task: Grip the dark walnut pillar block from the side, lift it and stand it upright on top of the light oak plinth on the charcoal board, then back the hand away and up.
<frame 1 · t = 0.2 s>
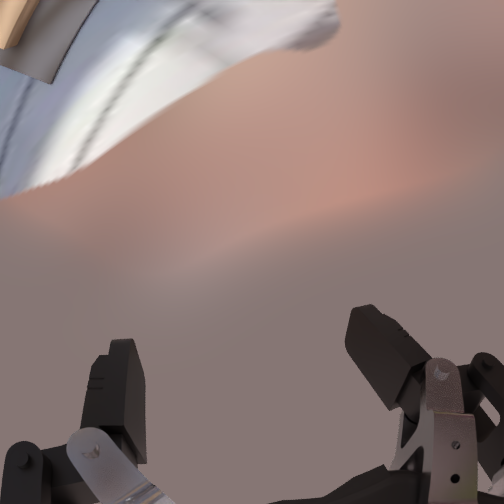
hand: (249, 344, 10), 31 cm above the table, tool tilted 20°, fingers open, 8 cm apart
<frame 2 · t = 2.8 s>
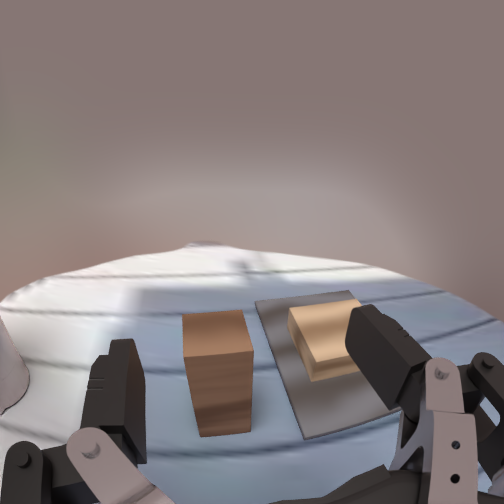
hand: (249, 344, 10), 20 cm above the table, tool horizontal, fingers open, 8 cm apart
plinth: (333, 349, 37), on the table
pillar: (222, 415, 28), on the table
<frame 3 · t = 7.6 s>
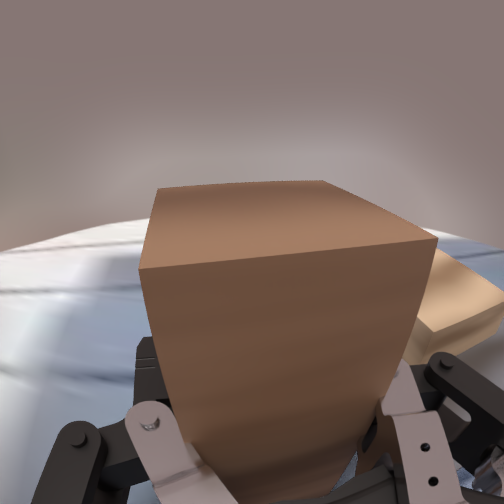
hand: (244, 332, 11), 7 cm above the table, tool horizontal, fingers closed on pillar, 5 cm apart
plinth: (421, 321, 21), on the table
pillar: (259, 466, 11), on the table, touching gripper
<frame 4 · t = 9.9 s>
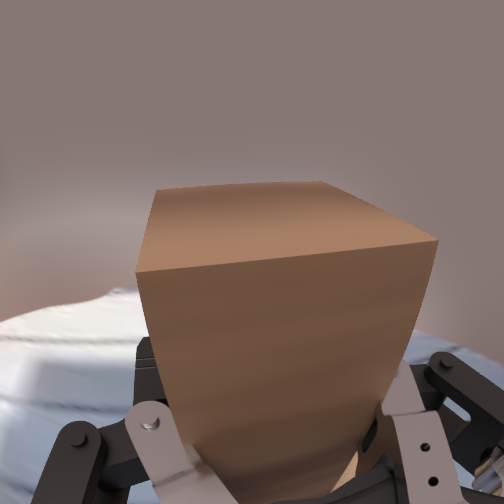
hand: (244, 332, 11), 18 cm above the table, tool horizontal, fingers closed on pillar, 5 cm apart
plinth: (290, 481, 19), on the table
pillar: (259, 468, 11), point 11 cm above the table, touching gripper
when the fingers open (12 cm above the table, at t = 12.1 s): pillar drops 1 cm, resting on plinth.
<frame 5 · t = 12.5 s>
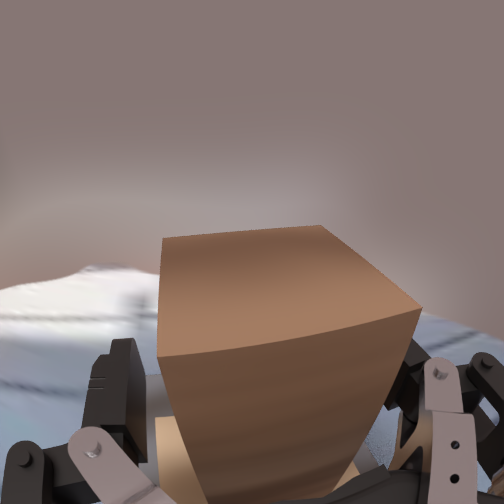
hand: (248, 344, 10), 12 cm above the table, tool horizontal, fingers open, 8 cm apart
plinth: (257, 499, 14), on the table
pillar: (259, 478, 12), point 4 cm above the table, touching plinth
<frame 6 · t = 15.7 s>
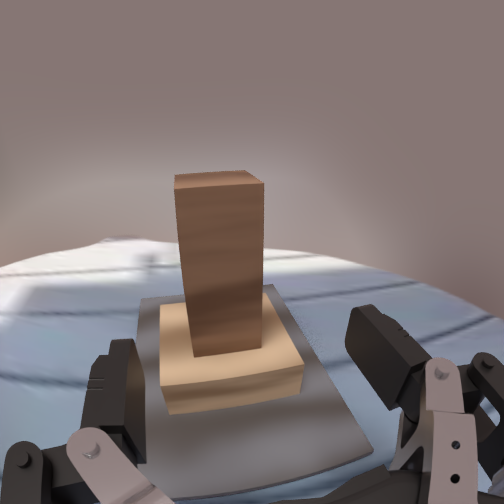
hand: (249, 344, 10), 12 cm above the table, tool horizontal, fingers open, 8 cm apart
plinth: (224, 367, 25), on the table
pillar: (222, 332, 23), point 4 cm above the table, touching plinth
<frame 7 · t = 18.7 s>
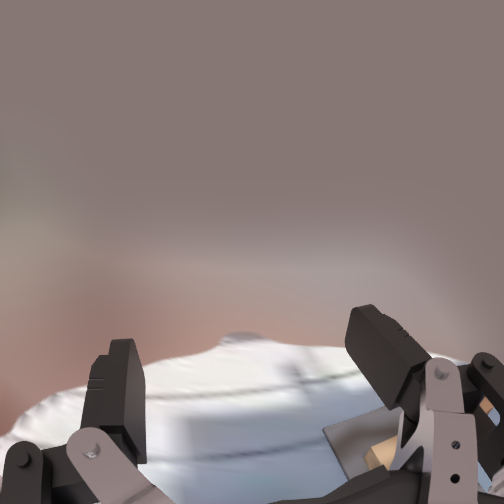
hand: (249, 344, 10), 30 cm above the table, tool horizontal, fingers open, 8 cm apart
plinth: (408, 472, 27), on the table
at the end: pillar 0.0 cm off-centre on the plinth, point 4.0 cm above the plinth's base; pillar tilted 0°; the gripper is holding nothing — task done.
